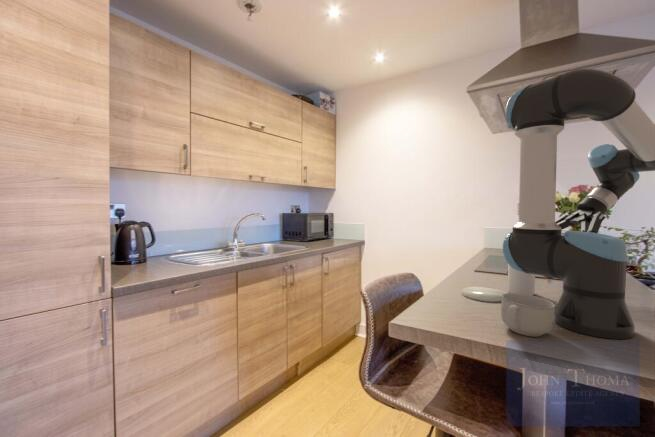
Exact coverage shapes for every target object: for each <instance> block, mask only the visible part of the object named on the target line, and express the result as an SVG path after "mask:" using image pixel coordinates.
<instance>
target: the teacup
mask: <svg viewBox="0 0 655 437" xmlns="http://www.w3.org/2000/svg"><path fill="white" fill-rule="evenodd" d="M501 297H502V302H500V303H501V304H500V318H501V320H502V322H503V323H504V325H506V326H507V327H508V328H509V330H511V331H512V332H514V333H516V334H519V335H522V336H526V337H533V338H534V337H536V338H537V337H541V336H543V335H546V334H547V333H549V332H550V331H551V330H552V328H553V324H554V311H555V309H556V306H557V305H556V304H555V303H554V302H552V301H550V300H548V299H546V298H543V297H540V296H536V295H527V294H520V293H510V292H506V293H505V294H502V296H501Z"/></svg>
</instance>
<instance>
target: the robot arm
mask: <svg viewBox="0 0 655 437" xmlns="http://www.w3.org/2000/svg"><path fill="white" fill-rule="evenodd" d="M636 97H637V93H636V91H635V90H634V88H633V87H632V85H630V83H629V82H627V81H626V80H624V79H623V78H621V77H620V76H617V75H616V74H613V73H611V72H608V71H604V70H601V69H595V68H577V69H572V70H569V71H566V72H564V73H562V74H559V75H556V76H553V77H549V78H547V79H544V80H541V81H538V82H536V83H531V84H528V85H527V86H525V87H522V88H520V89H518V90H516V91H515V92H513V94H512V95H511V96H510V97H509V99H508V101H507V104H506V107H505V120H506V122H507V126H508V127H509V128H510V129H511V130H513V131H514V135H515V136H516V137H517V138H518V139H520V143H519V144H520V146H519V147H520V149H519V150H520V152H519V161H520V162H519V190H518V191H519V193H518V194H519V196H518V221H517V223H515V224H514V225H513V226H512V231H511V232H509V233H507V234H506V235H505V237H504V239H503V242H502V253H503V258H504V260H505V261H506V263H507V265H508V264H509V265H510V267H512V268H513V269H515V270H518V271H522V272H525V273H527V274H535V275H537V276H541V277H542V276H543V277H548V278H553V279H560V280H562V281H563V282H562V283H563V284H562V285H563V286H562V294H561V296H560V298H559V300H558V303H557V305H556V307H555V309H554V319H553V322H555V323H556V324H557V325H558V326H560V327H563V328H564V329H567V330H570V331H573V332H577V333H579V334H583V335H587V336H592V337H597V338H603V339H613V340H626V339H631V338H633V337H635V329H636V328H635V322H634V320H633V318H632V316H631V313H630V310H629V307H628V305H627V304H626V303H627V302H626V285H627V284H626V283H627V282H626V280H627V265H628V264H627V261H628V256H627V245H626V242H625V241H624V240H623V239H621V238H619V237H616V236H612V235H610V234H609V235H608V234H605V233H599V231H600V228H601V225H602V223H603V221H604V220H605V219H606V216H605V214H606V213H607V212H608V210H609V209H611V208H612V206H614V205H615V203H617V202H618V201H619V200H620V199H621V198H622V197H623V196H624V194H626V193H627V192H628V191H630V190H631V189H632V188H633V187H634V186H635V184H636V183H637V182H638V181H639V179H640V173H641V172H654V171H655V123H654V122H653V121H652V119H651V118H650V117H649V116H648V114H647V113H646V112H645V110H644V109H643V108H642V107H641V106H640V105H639V103H638V102H637V100H636ZM577 117H588V118H589V119H590V120H592V121H594V122H600V123H601V124H602V125H603V126H604V127H605V128H606V129H607V130H608V131H610V133H611V134H612V135H613V136H614V137H615V138H616V139H617V140H618V141H619V142H620V143H621V144H622V145H623V146H624V147H625V149H618V148H617V147H616V145H614V144H609V143H606V144H601V145H598V146H596V147H594V148H593V149H591V150H590V151H589V152H588V155H587V159H588V162H589V166H590V168H591V169H592V171H593V172H594V174H595V176H596V177H597V180H598V182H599V183H598V184H597V185H596V186H595V187H594V188H593V189H592V190H591V191H590V192H589V193H588V194H587V195H585V197H584V198H583V199H582V200H580V202H579V203H578V204H577V207H576V208H577V210H576V211H574V212H571V211H570V210H569V211H567V212H565V213H564V214H563V215H561V216H560V217H558V218H557V219H556V201H557V200H556V196H557V195H556V194H557V192H556V191H557V158H558V157H557V156H558V155H557V152H558V135H559V134H561V132H563V131H564V130H565V122H566V121H565V120H568V119H572V118H577ZM639 172H640V173H639ZM578 225H579V226H580V230H566V231H565V232H564V234H563V235H562V231H563V230H565V229H566V228H569V227H574V226H578Z"/></svg>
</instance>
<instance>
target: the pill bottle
mask: <svg viewBox="0 0 655 437" xmlns="http://www.w3.org/2000/svg"><path fill="white" fill-rule="evenodd" d="M535 286H536V274H527V273H525V272H522V271H518V270H515V269H513V268H512V267H510V265H509V264H508V263H507V291H508V293H520V294H527V295H532V296H535V292H536V287H535Z"/></svg>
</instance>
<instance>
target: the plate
mask: <svg viewBox="0 0 655 437" xmlns="http://www.w3.org/2000/svg"><path fill="white" fill-rule="evenodd" d="M505 293H507V292H505V291H504V290H501V289H496V288H492V287H484V286H468V287H467V286H465V287H464V288H461V295H462V296H463V297H466V298H468V299H470V300H475V301H480V302H488V303H489V302H491V303H502V297H501V296H502V294H505Z"/></svg>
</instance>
